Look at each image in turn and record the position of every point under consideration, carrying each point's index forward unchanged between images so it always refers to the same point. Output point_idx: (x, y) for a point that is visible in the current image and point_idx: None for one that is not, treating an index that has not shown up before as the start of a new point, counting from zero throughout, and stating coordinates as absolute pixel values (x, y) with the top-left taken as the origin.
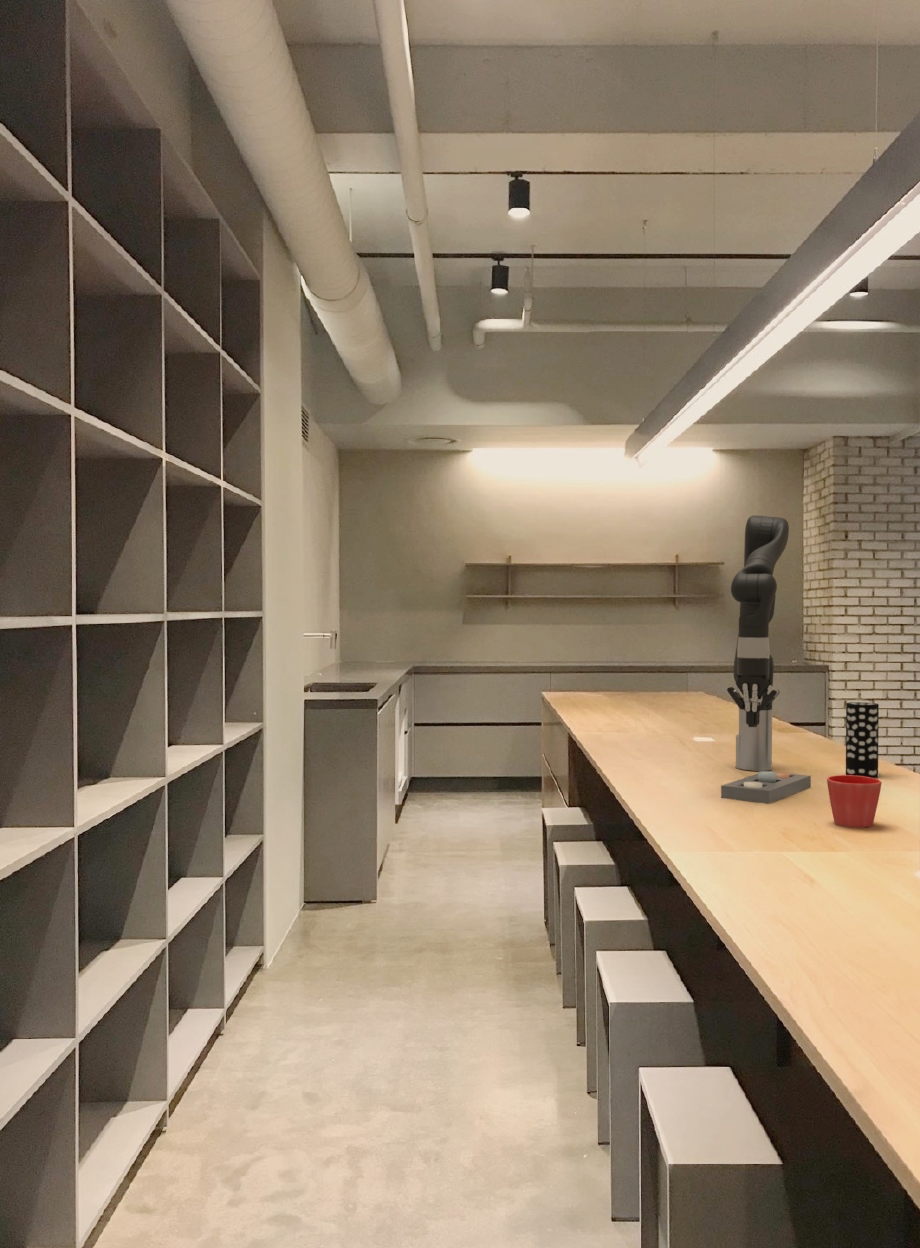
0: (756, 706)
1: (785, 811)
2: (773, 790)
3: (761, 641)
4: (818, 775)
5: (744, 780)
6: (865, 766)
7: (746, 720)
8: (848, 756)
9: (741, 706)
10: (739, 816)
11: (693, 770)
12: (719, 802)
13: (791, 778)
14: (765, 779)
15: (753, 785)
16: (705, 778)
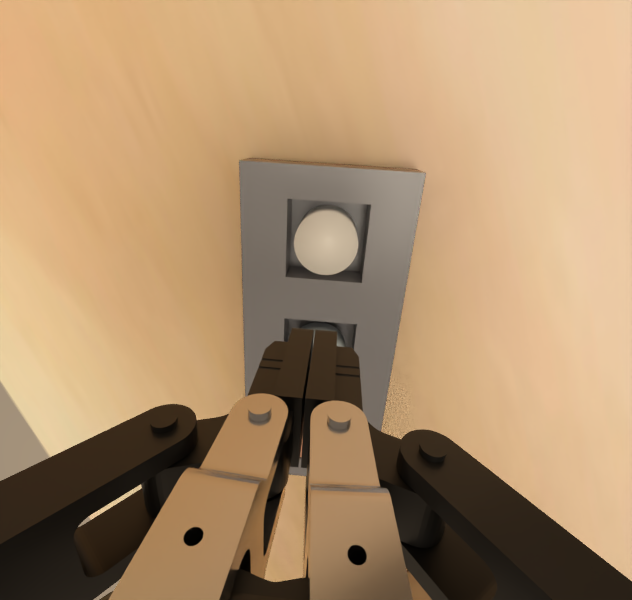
0: (224, 438)
1: (152, 47)
2: (241, 203)
3: None
4: (294, 568)
5: (379, 316)
6: None
7: (355, 364)
8: None
9: (419, 446)
10: None
11: (581, 524)
12: (399, 75)
13: None
14: (314, 332)
15: (313, 213)
16: (531, 443)
